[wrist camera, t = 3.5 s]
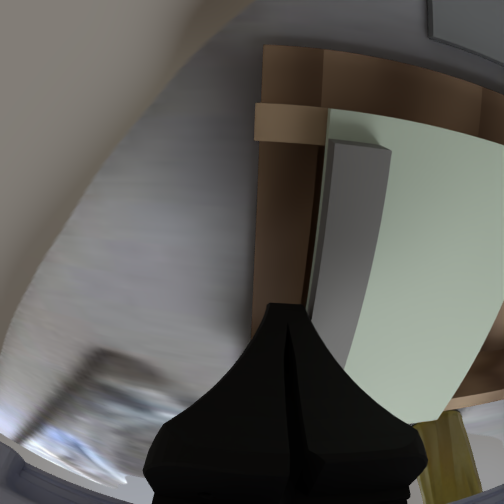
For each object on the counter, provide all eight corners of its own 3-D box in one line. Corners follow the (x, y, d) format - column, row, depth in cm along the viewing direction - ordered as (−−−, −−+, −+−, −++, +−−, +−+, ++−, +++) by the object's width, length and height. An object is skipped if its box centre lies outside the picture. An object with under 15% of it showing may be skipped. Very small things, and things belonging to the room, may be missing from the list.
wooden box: (567, 130, 12) (622, 149, 7) (486, 370, 21) (509, 415, 16) (264, 49, 13) (258, 24, 8) (250, 377, 22) (243, 440, 17)
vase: (471, 410, 23) (512, 529, 10) (433, 444, 26) (459, 555, 13) (431, 406, 23) (470, 547, 10) (392, 442, 25) (413, 569, 13)
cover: (536, 157, 9) (562, 167, 7) (434, 413, 15) (441, 434, 14) (327, 108, 9) (337, 109, 8) (285, 420, 16) (285, 445, 14)
